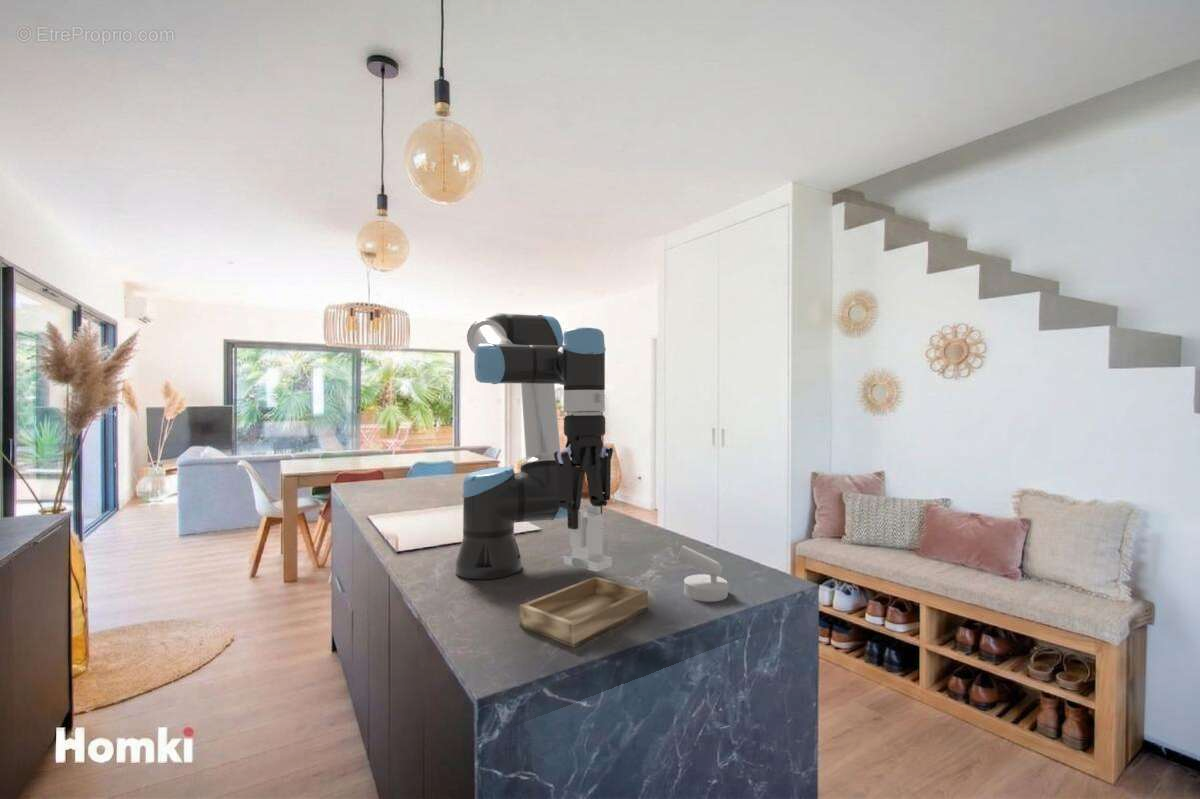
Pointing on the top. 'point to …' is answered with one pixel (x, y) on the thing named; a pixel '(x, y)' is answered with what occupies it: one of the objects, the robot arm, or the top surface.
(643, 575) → the top surface
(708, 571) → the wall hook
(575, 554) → the frosted glass pillar
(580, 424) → the robot arm
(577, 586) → the wooden tray
